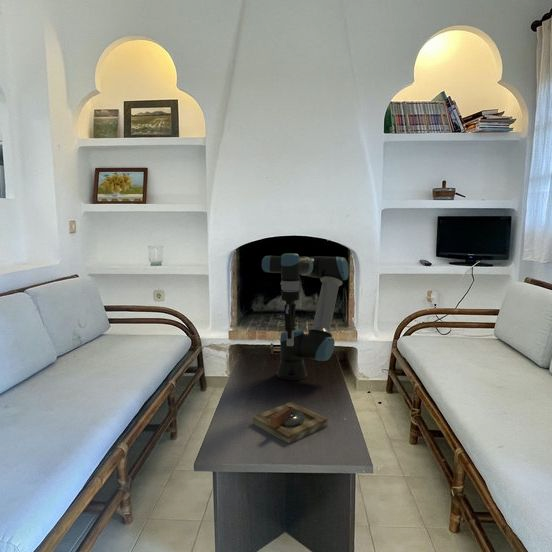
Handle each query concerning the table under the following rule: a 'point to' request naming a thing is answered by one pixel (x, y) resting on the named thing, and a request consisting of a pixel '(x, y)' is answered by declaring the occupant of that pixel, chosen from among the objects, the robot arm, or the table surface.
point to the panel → (291, 433)
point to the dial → (287, 418)
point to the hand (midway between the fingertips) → (290, 345)
